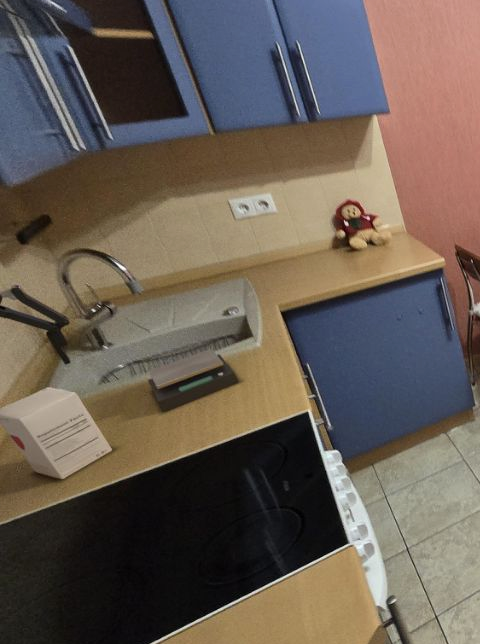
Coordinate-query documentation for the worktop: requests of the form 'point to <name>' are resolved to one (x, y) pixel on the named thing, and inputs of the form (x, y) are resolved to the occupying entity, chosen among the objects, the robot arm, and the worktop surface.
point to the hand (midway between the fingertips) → (18, 377)
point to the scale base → (194, 386)
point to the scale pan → (185, 368)
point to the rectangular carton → (54, 432)
